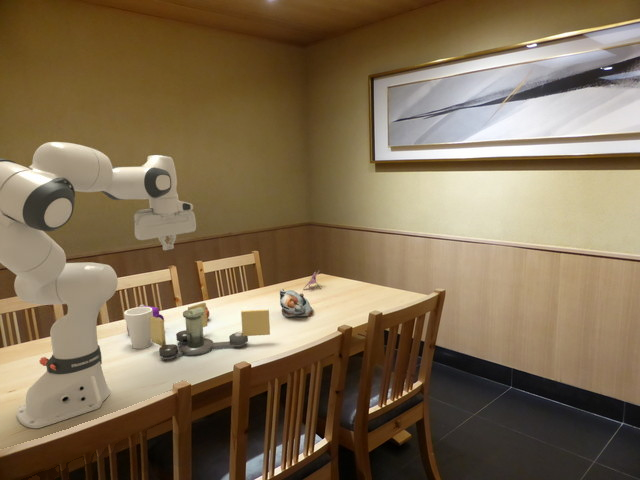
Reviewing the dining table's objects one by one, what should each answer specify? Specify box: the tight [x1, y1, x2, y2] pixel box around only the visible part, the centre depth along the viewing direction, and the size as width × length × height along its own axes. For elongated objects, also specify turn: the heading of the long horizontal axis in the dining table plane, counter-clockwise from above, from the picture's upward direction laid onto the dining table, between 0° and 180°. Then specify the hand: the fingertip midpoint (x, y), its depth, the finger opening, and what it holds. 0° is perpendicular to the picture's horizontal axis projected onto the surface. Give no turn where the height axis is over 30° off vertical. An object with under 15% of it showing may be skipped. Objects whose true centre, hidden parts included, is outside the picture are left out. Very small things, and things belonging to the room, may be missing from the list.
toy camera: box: [125, 304, 165, 334], centre depth 177 cm, size 11×14×10 cm
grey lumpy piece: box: [279, 288, 315, 318], centre depth 191 cm, size 15×12×14 cm
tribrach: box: [149, 302, 246, 362], centre depth 159 cm, size 26×23×15 cm
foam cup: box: [123, 306, 153, 350], centre depth 164 cm, size 10×9×13 cm
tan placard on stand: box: [228, 308, 271, 345], centre depth 162 cm, size 6×14×11 cm, turn 95°
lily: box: [302, 270, 321, 290], centre depth 231 cm, size 12×12×10 cm
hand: (168, 249), depth 148 cm, fingers closed
